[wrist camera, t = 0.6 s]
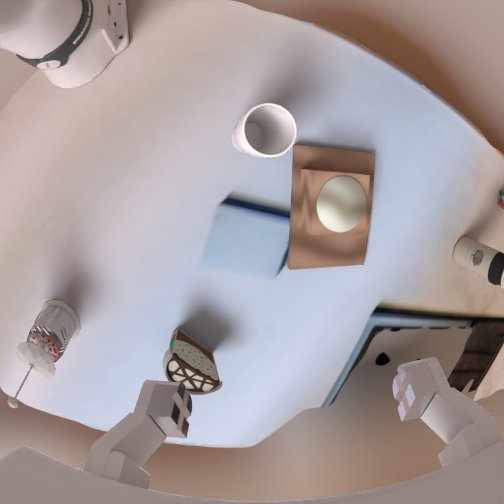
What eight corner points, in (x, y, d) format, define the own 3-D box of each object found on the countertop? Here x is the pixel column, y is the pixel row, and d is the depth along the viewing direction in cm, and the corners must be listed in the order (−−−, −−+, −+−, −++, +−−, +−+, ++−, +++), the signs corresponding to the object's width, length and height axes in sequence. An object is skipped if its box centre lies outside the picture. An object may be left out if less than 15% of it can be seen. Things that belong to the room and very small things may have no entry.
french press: (40, 332, 48) (-7, 412, 25) (40, 285, 46) (-24, 361, 22) (79, 346, 51) (43, 436, 28) (82, 300, 48) (32, 388, 25)
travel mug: (472, 245, 64) (518, 267, 48) (459, 269, 66) (505, 295, 49) (462, 230, 62) (513, 252, 45) (448, 255, 63) (498, 281, 46)
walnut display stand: (293, 145, 47) (310, 144, 40) (370, 153, 50) (395, 155, 43) (287, 266, 54) (301, 283, 47) (360, 261, 57) (381, 276, 50)
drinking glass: (237, 111, 44) (257, 92, 30) (273, 128, 46) (307, 119, 32) (219, 147, 45) (231, 142, 31) (256, 164, 47) (283, 167, 33)
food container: (152, 341, 54) (147, 374, 45) (171, 323, 53) (169, 355, 44) (198, 372, 58) (201, 405, 49) (217, 355, 58) (223, 388, 48)
